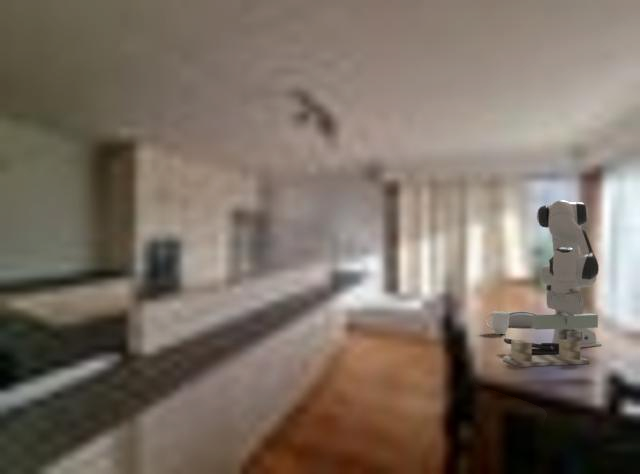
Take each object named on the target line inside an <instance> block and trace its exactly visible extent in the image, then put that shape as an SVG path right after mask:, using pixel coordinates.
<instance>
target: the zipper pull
mask: <svg viewBox="0 0 640 474" xmlns="http://www.w3.org/2000/svg"><path fill="white" fill-rule="evenodd" d="M511 340H513V339H510V338H503V342H504V343H505V344H509V345H511ZM531 343H532V356H534V355H558V354H559V344H558V343H552V342H542V343H534V342H531ZM552 347H553V348H552Z"/></svg>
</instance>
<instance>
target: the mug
mask: <svg viewBox="0 0 640 474" xmlns="http://www.w3.org/2000/svg"><path fill="white" fill-rule="evenodd" d="M509 313H510V312H509V311H502V310H495V311H491V313H490V314H488V315H487V316H486V318H485V319H486V325H487V327H488V328H490V329H491V330H493V331H494V334H495V335H497V334H505V335H507V331H508V329H509V327H510V326H509ZM489 317H491V326H490V325H489V324H488V321H487V320H488V318H489Z"/></svg>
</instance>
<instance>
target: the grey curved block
mask: <svg viewBox="0 0 640 474" xmlns="http://www.w3.org/2000/svg"><path fill="white" fill-rule="evenodd" d="M532 315H536V313H533V312H531V311H526V310H525V311H524V310H520V311H519V310H518V311H517V310H516V311H513V312H512V311H511V312H509V326H508V327H517V328H519V327H520V328H522V327H523V328H528V327H529V328H532Z"/></svg>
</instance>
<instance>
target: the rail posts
mask: <svg viewBox="0 0 640 474" xmlns="http://www.w3.org/2000/svg"><path fill="white" fill-rule="evenodd" d="M580 341H582V331H578V330H575V329H559V354H558V355H534V356H532V349H533V347H532V343H533V342H530V341H528V340H525V339H518V340H516V339H512V340H511V344H510V347H511V348H510V351H511V352H510V355H511V356H503V362H507V363H508V362H509V364H510V363H511V365H512V364H513V366H514V367H517V368H521V367H522V368H523V367H525V368H526V367H542V366H543V367H545V366H546V367H547V365H548V366H567V365H569V364H571V365H588V364H590V360H589V359H588V358H584V357H582V356H581V347H580Z"/></svg>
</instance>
